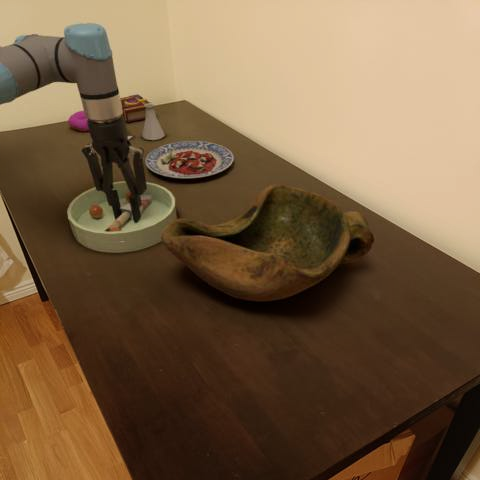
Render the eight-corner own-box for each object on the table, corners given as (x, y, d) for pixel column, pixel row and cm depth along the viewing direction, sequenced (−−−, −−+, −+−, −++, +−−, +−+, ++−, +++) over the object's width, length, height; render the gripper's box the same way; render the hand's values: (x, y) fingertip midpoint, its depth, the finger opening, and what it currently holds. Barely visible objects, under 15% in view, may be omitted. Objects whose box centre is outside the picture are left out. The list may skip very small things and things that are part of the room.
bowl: (215, 361, 71) (220, 291, 61) (153, 264, 89) (148, 197, 79) (388, 300, 87) (415, 236, 77) (305, 228, 105) (318, 169, 94)
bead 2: (103, 234, 95) (110, 246, 95) (110, 225, 93) (118, 236, 93) (113, 233, 98) (120, 245, 97) (120, 224, 96) (128, 236, 96)
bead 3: (126, 196, 105) (120, 198, 108) (136, 205, 107) (130, 207, 110) (132, 186, 106) (127, 188, 109) (142, 195, 108) (136, 197, 111)
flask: (154, 131, 147) (150, 99, 140) (169, 136, 144) (165, 104, 137) (138, 137, 143) (133, 105, 136) (152, 142, 140) (148, 110, 133)
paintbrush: (154, 190, 107) (108, 234, 94) (155, 200, 109) (111, 244, 96) (140, 188, 108) (93, 230, 95) (142, 198, 110) (97, 241, 97)
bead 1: (91, 221, 102) (88, 209, 100) (90, 215, 105) (86, 203, 102) (105, 219, 103) (102, 207, 101) (103, 213, 105) (100, 201, 103)
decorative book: (127, 124, 152) (124, 109, 148) (111, 111, 162) (108, 97, 158) (156, 118, 156) (154, 103, 153) (139, 106, 166) (137, 91, 163)
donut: (65, 128, 149) (61, 114, 146) (88, 120, 155) (85, 106, 152) (83, 135, 144) (80, 121, 141) (107, 126, 150) (104, 112, 147)
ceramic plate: (248, 157, 131) (248, 147, 129) (205, 192, 115) (204, 182, 113) (178, 142, 140) (177, 133, 138) (128, 173, 123) (126, 163, 121)
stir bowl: (79, 262, 92) (73, 243, 88) (68, 209, 108) (62, 190, 105) (189, 239, 98) (187, 220, 95) (163, 192, 115) (160, 174, 111)
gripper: (151, 112, 88) (167, 213, 104) (75, 108, 91) (102, 207, 107) (137, 126, 83) (156, 230, 99) (57, 120, 86) (88, 223, 102)
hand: (128, 218), depth 103 cm, fingers closed on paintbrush, 4 cm apart
